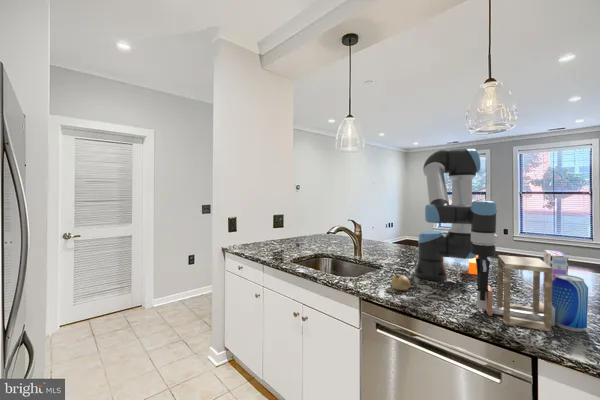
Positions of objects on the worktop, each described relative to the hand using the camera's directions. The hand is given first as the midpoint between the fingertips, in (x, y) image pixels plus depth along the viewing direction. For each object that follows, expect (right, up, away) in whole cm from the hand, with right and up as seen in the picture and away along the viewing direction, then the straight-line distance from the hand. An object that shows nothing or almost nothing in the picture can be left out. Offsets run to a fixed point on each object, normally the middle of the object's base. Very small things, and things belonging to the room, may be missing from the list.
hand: (481, 307), depth 101 cm
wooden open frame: (+10, -2, -5) cm, 12 cm away
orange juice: (+29, 0, +49) cm, 57 cm away
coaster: (+26, -1, +1) cm, 26 cm away
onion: (-21, -1, +23) cm, 31 cm away
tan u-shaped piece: (+9, -1, -5) cm, 11 cm away
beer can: (+21, -2, -11) cm, 24 cm away
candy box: (+47, -1, +23) cm, 53 cm away
